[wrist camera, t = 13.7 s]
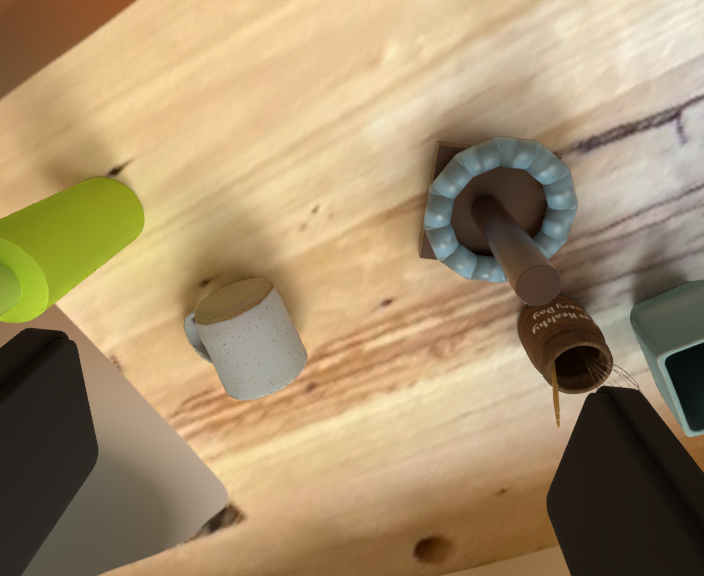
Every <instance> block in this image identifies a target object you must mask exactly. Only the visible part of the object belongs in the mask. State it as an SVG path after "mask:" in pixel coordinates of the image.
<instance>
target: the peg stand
mask: <svg viewBox="0 0 704 576" xmlns="http://www.w3.org/2000/svg"><path fill="white" fill-rule="evenodd" d="M473 146H475V145H466V144H456V143H446V142H437V143H436V149H435V155H434V161H433V167H432V173H431V179H430V185H429V188H430V186H431V184H432V183H433V182H434V180H435V179H436V178H437V177H438V175H439V174H440V173H441V172H442V170H443V169H444V168H445V167H446V165H447V164H448V163H449V162H450V160H451V159H452V158H453V157H454V156H455V155H456V154H457V153H459V152H462V151H464V150H466V149H468V148H471V147H473ZM553 154H554V153H553ZM554 155H556V154H554ZM556 156H557V157H558V158H559V159H560V160H561V157H560V156H558V155H556ZM428 192H429V191H428ZM427 198H428V197H427ZM547 207H548V204H547V201H546V197H545V194H544V190H543V187H542V184H541V183H540V182H539V181H538V180H536V179H535V178H534V177H533V176H531V175H530V174H529V173H528V172H526V171H525V170H524V169H517V168H507V167H496V168H494V169H491V170H489V171H486V172H484V173H482V174H479V175H477V176H475V177H472V179H471V180H470V181H469V182H468V183H467V185H466V186H465V187H464V188H463V189H462V190H461V192H460V193H459V194H458V195H457V196H456V198H455V201H454V206H453V211H452V216H451V221H450V222H451V225H452V227H453V230H454V233H455V235H456V238H457V240H458V242H459V243H460V244H461V245H463V246H464V247H466V248H467V249H468V250H470V251H471V252H472V253H474V254H475V255H482V256H492V257H495V258H496V260H497V262H498V263H499V265H500V267H501V269H502V270H503V272H504V274H505V275H506V277H507V279H508V281H509V282H510V284H511V286H512V288H513V289H514V291H515V293H516V295H517V296H518V298H519V299H520V300H521V301H522V302H524V303H526V304H528V305H533V306H539V305H544V304H546V303H549V302H550V301H552V300H553V299H554V298H556V296H557V295H558V294H559V292H560V291H561V288H562V277H561V274H560V273H559V272H558V270H557V269H556V268H555V267H554V265H553V264H552V263H551V262H550V261H549V259H548V258H547V257H546V256H545V255H544V253H543V252H542V251H541V250H540V248H539V247H538V246H537V245H536V244H535V242H534V241H533V240H532V238H533V237H534V236H535V235H536V234H537V233H538V232H539V231H540V230H541V227H542V224H543V220H544V217H545V213H546V210H547ZM419 256H420V258H425V259H435V260H438V259H437V258H436V256H435V253H434V251H433V249H432V246H431V244H430V241H429V239H428V237H427V234H426V232H425V229H424V226H423V227H422V233H421V239H420V245H419Z"/></svg>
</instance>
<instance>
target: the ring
mask: <svg viewBox="0 0 704 576" xmlns="http://www.w3.org/2000/svg"><path fill="white" fill-rule="evenodd" d="M496 167H507V168H517V169H524V170H525V171H526V172H528V173H529V174H530V175H531V176H533V177H534V178H535V179H536V180H538V181H539V182H540V183H541V184H542V187H543V190H544V194H545V197H546V201H547V204H548V207H547V211H546V214H545V218H544V221H543V225H542V228H541V230H540V231H539V232H538V233H537V234H536V235H535V236H534V237H533V238H532V240H533V241H534V242H535V244H536V245H537V246H538V247H539V248H540V250H541V251H542V252H543V253H544V255H545V256H546V257H547V258H548V259H550V258H551V257H552V256H553V255H554V254H555V253H556V252H557V251H558V250H559V249H560V248H561V247H562V246H563V245H564V244H565V243H566V241H567V239H568V236H569V233H570V230H571V227H572V223H573V220H574V217H575V214H576V211H577V208H578V200H577V196H576V192H575V188H574V184H573V180H572V176H571V173H570V169H569V167H568V166H567V165H566V164H565V163H564V162H563V161H562V160H560V159H559V158H558V157H557V156H556V155H554V154H553V153H552V152H551V151H550V150H548V149H547V148H546V147H545V146H544V145H542V144H541V143H540V142H538V141H534V140H524V139H515V138H505V137H494V138H491V139H489V140H487V141H484V142H482V143H480V144H478V145H475V146H473V147H471V148H468V149H466V150H464V151H462V152H459V153H457V154H456V155H455V156H454V157H453V158H452V159H451V160H450V162H449V163H448V164H447V165H446V167H445V168H444V169H443V170H442V172H441V173H440V174H439V175H438V177H437V178H436V179H435V180H434V182H433V183H432V184H431V186H430V188H429V192H428V198H427V203H426V209H425V215H424V221H423V226H424V229H425V232H426V234H427V237H428V239H429V241H430V244H431V246H432V249H433V251H434V253H435V256H436V258H437V259H438V260H439V261H441V262H442V263H444V264H445V265H446V266H448V267H449V268H451V269H452V270H453V271H455V272H456V273H458V274H459V275H461V276H462V277H464V278H465V279H469V280H479V281H489V282H498V283H503V282H506V281H508V279H507V277H506V275H505V274H504V272H503V270H502V269H501V267H500V265H499V263H498V262H497V260H496V258H495V257H492V256H482V255H475V254H474V253H472V252H471V251H470V250H468V249H467V248H466V247H464V246H463V245H461V244H460V243H459V242H458V240H457V238H456V235H455V233H454V230H453V227H452V225H451V222H450V221H451V216H452V211H453V206H454V201H455V198H456V196H457V195H458V194H459V193H460V192H461V190H462V189H463V188H464V187H465V186H466V185H467V183H468V182H469V181H470V180H471V179H472V177H475V176H477V175H479V174H482V173H484V172H486V171H489V170H491V169H494V168H496Z"/></svg>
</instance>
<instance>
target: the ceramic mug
mask: <svg viewBox="0 0 704 576" xmlns="http://www.w3.org/2000/svg"><path fill="white" fill-rule="evenodd" d="M184 329H185V333H186V336H187V338H188V341H189V342H190V344H191V346H192V347H193V348H194V350H195V351H196V352H197V353H198V354H199V355H200V356H201V357H202V358H204V359H205V360H207V361H208V362H210V363H212V364H214V367H215V369H216V371H217V374H218V376H219V378H220V380H221V382H222V384H223V386H224V388H225V390H226V392H227V394H228V395H229V396H231V397H232V398H234V399H238V400H253V399H258V398H262V397H264V396H267V395H270V394H272V393H275V392H277V391H279V390H281V389H283V388H284V387H286V386H287V385H289V384H290V383H291V382H292V381H293V380H294V379H296V378H297V377H298V376H299V375H300V373H301V372H302V371H303V369H304V367H305V365H306V363H307V352H306V349H305V347H304V345H303V343H302V341H301V339H300V337H299V334H298V332H297V330H296V328H295V326H294V324H293V322H292V320H291V318H290V316H289V314H288V311H287V309H286V307H285V304H284V302H283V300H282V298H281V296H280V294H279V292H278V291H277V290H276V288H275V287H274V285H273V284H272V283H271V282H270V281H268V280H266V279H263V278H250V279H245V280H242V281H238V282H235V283H232V284H230V285H227V286H225V287H223V288H221V289H219V290H218V291H216V292H214V293H212V294H211V295H210V296H208V297H207V298H205V299H204V300H203V301H202V302H201V303H200V304H199V305H198V307H197V308H196V309H194V310H193V311H192V312H190V313H189V314H188V315H187V316H186V318H185V321H184Z"/></svg>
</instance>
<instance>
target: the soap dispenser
mask: <svg viewBox="0 0 704 576" xmlns="http://www.w3.org/2000/svg"><path fill="white" fill-rule="evenodd" d="M143 226H144V212H143V208H142V206H141V203H140V201H139V200H138V198H137V197H136V195H135V194H134V193H133V192H132V191H131V190H130V189H129V188H128V187H127V186H125V185H124V184H122V183H121V182H119V181H117V180H114V179H111V178H107V177H94V178H90V179H88V180H85V181H83V182H81V183H79V184H77V185H74V186H72V187H70V188H68V189H66V190H63V191H61V192H59V193H57V194H55V195H52V196H50V197H48V198H46V199H43V200H41V201H39V202H37V203H35V204H32V205H30V206H28V207H26V208H24V209H21V210H19V211H17V212H15V213H13V214H10V215H8V216H6V217H4V218H2V219H0V321H3V322H9V323H21V322H26V321H30V320H32V319H34V318H36V317H37V316H39V315H40V314H41V313H43V312H44V311H45V310H46V309H48V308H49V307H50V306H51V305H53V304H54V303H55V302H57V301H58V300H59V299H60V298H62V297H63V296H64V295H65V294H67V293H68V292H69V291H70V290H72V289H73V288H74V287H76V286H77V285H78V284H79V283H81V282H82V281H83V280H84V279H86V278H87V277H88V276H89V275H91V274H92V273H93V272H94V271H96V270H97V269H98V268H99V267H101V266H102V265H103V264H105V263H106V262H107V261H108V260H110V259H111V258H112V257H113V256H115V255H116V254H117V253H118V252H120V251H121V250H122V249H123V248H125V247H126V246H127V245H128V244H130V243H131V242H132V241H134V240H135V239H136V238H137V237H138V236H139V235H140V233H141V231H142V229H143Z"/></svg>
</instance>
